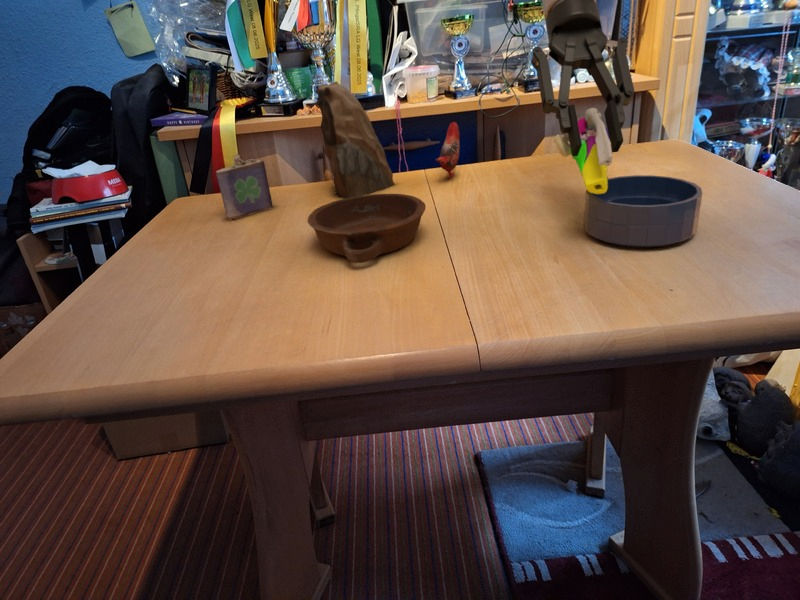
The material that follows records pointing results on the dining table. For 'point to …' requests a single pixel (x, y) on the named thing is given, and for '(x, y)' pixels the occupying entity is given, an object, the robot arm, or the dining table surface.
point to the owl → (351, 144)
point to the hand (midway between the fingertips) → (597, 148)
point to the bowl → (643, 211)
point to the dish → (367, 224)
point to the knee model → (590, 150)
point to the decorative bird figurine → (450, 149)
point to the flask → (244, 188)
